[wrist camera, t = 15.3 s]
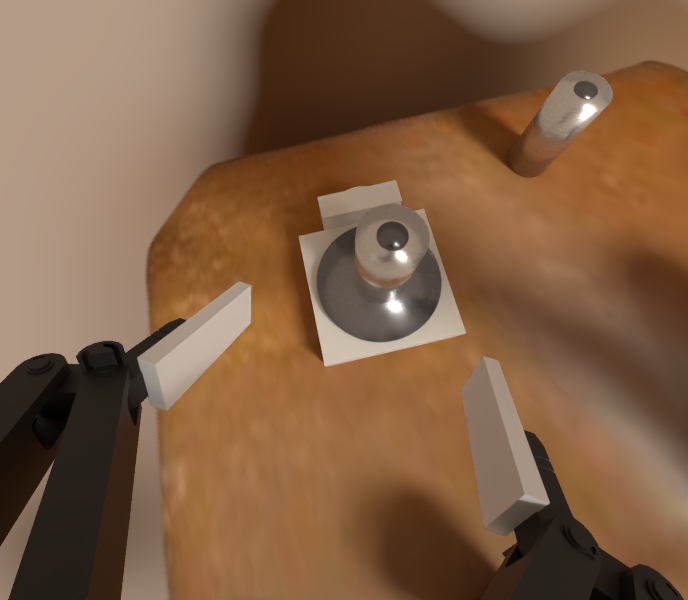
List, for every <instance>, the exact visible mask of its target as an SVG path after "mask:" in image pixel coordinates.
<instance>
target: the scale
mask: <svg viewBox="0 0 688 600" xmlns="http://www.w3.org/2000/svg"><path fill="white" fill-rule="evenodd" d="M317 198H318V203H319V208H320V213H321V218H322V223H323V227H324V231H319V232H315V233H310V234H306V235H301V236H299V241H300V246H301V251H302V256H303V261H304V266H305V270H306V275H307V280H308V285H309V290H310V295H311V300H312V305H313V310H314V315H315V320H316V325H317V330H318V335H319V340H320V345H321V350H322V355H323V360H324V364H325V366H332V365H336V364H341V363H345V362H349V361H353V360H358V359H362V358H366V357H371V356H375V355H379V354H384V353H388V352H392V351H396V350H401V349H405V348H409V347H414V346H418V345H422V344H427V343H431V342H435V341H439V340H444V339H448V338H452V337H456V336H459V335H462V334H465V333H466V331H465V328H464V325H463V322H462V319H461V317H460V314H459V311H458V308H457V305H456V302H455V299H454V296H453V293H452V290H451V287H450V284H449V281H448V278H447V275H446V272H445V269H444V266H443V264H442V261H441V258H440V255H439V252H438V249H437V246H436V243H435V240H434V237H433V234H432V231H431V228H430V225H429V222H428V219H427V216H426V213H425V211H424V209H420V210H415V212H417V213H418V214H419V215H420V216H421V217H422V218H423V220H424V221H425V223H426V225H427V227H428V230H429V236H430V242H429V249H430V250H431V251H432V253H433V255H434V256H435V258H436V260H437V263H438V265H439V269H440V273H441V280H442V285H441V295H440V299H439V302H438V305H437V307H436V309H435V311H434V313H433V314H432V316H431V317H430V319H429V320H428V321H427V322H426V323H425V324H424V325H423V326H422V327H421V328H420V329H418V330H417V331H415V332H414V333H412V334H410V335H409V336H406V337H404V338H402V339H399V340H396V341H391V342H382V343H376V342H368V341H363V340H360V339H357V338H355V337H352V336H350V335H348V334H347V333H345V332H344V331H342V330H341V329H339V328H338V327H337V326H336V325H335V324H334V323H333V322H332V321H331V319H330V318H329V317H328V316H327V314H326V312H325V311H324V309H323V307H322V304H321V302H320V299H319V296H318V291H317V271H318V267H319V263H320V261H321V258H322V256H323V254H324V253H325V251H326V249H327V248H328V247H329V245H330V244H331V243H332V242H333V241H334V240H335V239H336V238H337V237H339V236H340V235H341V234H343V233H344V232H346V231H348V230H350V229H352V228H355V227H357V226H358V223H359V222H360V220H361V218H362V217H363V216H364V215H365V214H366V213H367V212H368V211H370V210H371V209H373V208H375V207H377V206H380V205H384V204H399V205H401V204H402V198H401V195H400V192H399V189H398V186H397V182H396V180H394V181H389V182H385V183H380V184H375V185H371V186H358V187H353V188H350V189H348V190H346V191H343V192H338V193H334V194H329V195H324V196H320V197H317Z"/></svg>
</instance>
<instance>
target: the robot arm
mask: <svg viewBox="0 0 688 600" xmlns="http://www.w3.org/2000/svg"><path fill="white" fill-rule="evenodd" d="M250 323H251V285H249V284H246V283H242V282H237V283H236V284H235V285H233V286H232V287H231V288H229V289H228V290H227V291H225V292H224V293H223V294H221V295H220V296H219V297H217V298H216V299H215V300H213V301H212V302H211V303H209V304H208V305H207V306H205V307H204V308H203V309H201V310H200V311H199V312H197V313H196V314H195V315H193V316H192V317H191V318H189V319H188V320H184V319H181V318H180V319H177V320H174V321H172V322H169V323H167V324H166V325H164V326H163V327H162V328H160V329H159V331H156V332H155V333H153V334H152V335H151V336H149V337H147V338H146V339H145V340H143V341H142V342H140V343H139V344H138V345H136V346H135V347H133V348H132V349H130V350H129V351H128V352H126V353H125V351H124V348H123V345H121V344H120V343H119V342H114V341H103V342H98V343H94V344H92V345H89V346H87V347H85V348H84V349H82V350H81V351H80V352H79V353H78V355H77V356H76V358H77V360H78V362H79V364H68V363H67V361H66V359H65V357H64V356H62V355H60V354H54V353H50V354H42V355H39V356H35V357H33V358H30V359H28V360H26V361H24V362H23V363H21V364H20V365H18V366H17V367H16V368H15V369H14V370H13V371H12V372H11V373H10V374H9V375H8V376H7V377H6V378H5V379H4V380H3V381H2V382H1V383H0V546H1V544H2V543H3V541H4V540H5V538H6V536H7V535H8V533H9V531H10V530H11V528H12V527H13V525H14V523H15V522H16V520H17V519H18V517H19V515H20V514H21V512H22V511H23V509H24V507H25V506H26V504H27V503H28V501H29V499H30V498H31V496H32V495H33V493H34V491H35V490H36V488H37V487H38V485H39V483H40V481H41V480H42V478H43V477H44V475H45V474H46V472H47V470H48V469H49V467H50V466H51V464H52V462H53V461H54V463H53V466H52V469H51V472H50V475H49V478H48V481H47V484H46V487H45V490H44V493H43V496H42V500H41V503H40V505H39V509H38V511H37V515H36V517H35V521H34V524H33V527H32V530H31V533H30V536H29V539H28V542H27V545H26V548H25V551H24V554H23V557H22V560H21V563H20V566H19V569H18V572H17V575H16V578H15V581H14V584H13V587H12V590H11V593H10V596H9V599H8V600H121V591H122V582H123V573H124V564H125V554H126V545H127V537H128V527H129V519H130V510H131V501H132V492H133V483H134V473H135V464H136V454H137V446H138V437H139V428H140V419H141V410H142V407H141V402H142V401H143V400H144V399H146V398H147V397H148V398H149V401H150V405H151V406H154V407H157V408H160V409H162V410H165V411H167V410H168V409H169V408H170V407H171V406H172V405H173V404H174V403H175V402H176V401H177V400H178V399H179V398H180V397H181V396H182V395H183V394H184V393H185V392H186V390H187V389H188V388H189V387H190V386H191V385H192V384H193V383H194V382H195V381H196V380H197V379H198V378H199V377H200V376H201V375H202V374H203V373H204V372H205V371H206V369H207V368H208V367H209V366H210V365H211V364H212V363H213V362H214V361H215V360H216V359H217V358H218V357H219V356H220V355H221V354H222V353H223V352H224V351H225V350H226V348H227V347H228V346H229V345H230V344H231V343H232V342H233V341H234V340H235V339H236V338H237V337H238V336H239V335H240V334H241V333H242V332H243V331H244V330H245V329H246V327H247V326H248V325H249V324H250ZM461 393H462V399H463V405H464V411H465V417H466V423H467V429H468V435H469V441H470V447H471V453H472V459H473V465H474V471H475V477H476V482H477V488H478V494H479V500H480V506H481V512H482V518H483V524H484V529H487V530H489V531H492V532H495V533H498V534H500V535H503V536H507V535H508V534H509V533H511V532H512V531H513V530H514V531H515V535H516V539H517V543H516V544H514V545H513V546H512V547H510V548H509V549H507V550H506V551H505V552H503V553H502V554H503V555H504V556H506V558H505V559H504V561H503V563H502V564H501V566H500V567H499V569H498V571H497V572H496V574H495V575H494V577H493V579H492V580H491V582H490V583H489V585H488V587H487V588H486V590H485V591H484V593H483V595H482V596H481V598H480V600H684V599H683V598H682V596H681V594H680V593H679V592H678V591H677V590H676V589H675V588H674V586H673V585H672V584H671V583H670V582H669V581H668V580H667V579H666V578H664V577H663V576H662V575H661V574H660V573H659V572H657V571H655V570H654V569H652V568H650V567H649V566H646V565H641V564H638V565H636V566H634V567H631V568H629V567H628V566H626V565H625V564H623V563H622V562H620V561H619V560H617V559H616V558H614V557H613V556H611V555H609V554H608V553H606V552H605V551H603V550H602V549H601V548H599V546H598V544H597V542H596V541H595V539H594V537H593V536H592V534H591V533H590V532H589V531H588V530H587V529H586V528H585V526H584V525H583V524H581V523H580V522H579V521H577V520H576V519H575V518H574V517H573V515H572V513H571V511H570V509H569V506H568V504H567V501H566V499H565V496H564V494H563V492H562V489H561V487H560V484H559V482H558V479H557V477H556V475H555V473H554V470H553V467H552V465H551V462H549V458H548V455H547V453H546V450H545V448H544V446H543V445H542V443H541V442H540V441H539V439H538V438H537V437H536V435H535V434H534V433H531V432H528V431H525V430H523V427H522V425H521V422H520V419H519V416H518V414H517V411H516V408H515V405H514V403H513V400H512V397H511V394H510V392H509V389H508V386H507V383H506V381H505V378H504V375H503V372H502V370H501V367H500V364H499V361H498V360H495V359H492V358H489V357H485V356H483V357H482V359H481V360H480V362H479V363H478V365H477V366H476V368H475V370H474V371H473V373H472V374H471V376H470V377H469V379H468V381H467V382H466V384H465V385H464V387H463V389H462V390H461ZM54 459H55V460H54Z"/></svg>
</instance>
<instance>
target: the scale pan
mask: <svg viewBox="0 0 688 600" xmlns="http://www.w3.org/2000/svg"><path fill="white" fill-rule="evenodd" d="M356 229H357V227H355V228H352V229H350V230H348V231H346V232H344V233H343V234H341V235H340V236H339V237H337V238H336V239H335V240H334V241H333V242H332V243H331V244H330V245H329V247H328V248H327V249H326V251H325V253H324V254H323V256H322V258H321V261H320V263H319V267H318V271H317V291H318V296H319V299H320V302H321V304H322V307H323V309H324V311H325V312H326V314H327V316H328V317H329V318H330V319H331V321H332V322H333V323H334V324H335V325H336V326H337V327H338V328H339V329H341V330H342V331H344V332H345V333H347V334H348V335H350V336H352V337H355V338H357V339H360V340H363V341H368V342H376V343H382V342H391V341H396V340H399V339H402V338H404V337H406V336H409V335H410V334H412V333H414V332H415V331H417V330H418V329H420V328H421V327H422V326H423V325H424V324H425V323H426V322H427V321H428V320H429V319H430V317H431V316H432V314H433V313H434V311H435V309H436V307H437V305H438V302H439V299H440V295H441V285H442V280H441V273H440V269H439V265H438V263H437V260H436V258H435V256H434V255H433V253H432V251H431V250H430V249H429V247H428V250H427V252H426V254H425V255H424V257H423V259H422V260H421V262H420V263H419V265H418V266H417V268H416V270H415V271H414V273H413V274H412V276H411V277H410V279H409V280H408V282H407V284H406V285H405V287H404V288H403V290H402V291H401V293H400V294H399V295H398V297H396V298H395V299H394V300H392V301H390V302H388V303H383V304H377V303H372V302H369V301H367V300H366V299H364V298H363V297H362V296H361V295H360V294H359V293H358V291H357V289H356V287H355V283H354V271H355V236H356Z"/></svg>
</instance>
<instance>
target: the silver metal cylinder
mask: <svg viewBox="0 0 688 600" xmlns="http://www.w3.org/2000/svg"><path fill="white" fill-rule="evenodd" d="M429 242H430V236H429V230H428V227H427V225H426V223H425V221H424V220H423V218H422V217H421V216H420V215H419V214H418V213H417V212H415V211H414V210H412V209H410V208H408V207H406V206H403V205H399V204H384V205H380V206H377V207H375V208H373V209H371V210H370V211H368V212H367V213H366V214H365V215H364V216H363V217H362V218H361V220H360V222H359V223H358V226H357V229H356V236H355V271H354V283H355V287H356V289H357V291H358V293H359V294H360V295H361V296H362V297H363V298H364V299H366V300H367V301H369V302H372V303H377V304H383V303H388V302H390V301H392V300H394V299H395V298H396V297H398V295H399V294H400V293H401V291H402V290H403V288H404V287H405V285H406V284H407V282H408V280H409V279H410V277H411V276H412V274H413V273H414V271H415V270H416V268H417V266H418V265H419V263H420V262H421V260H422V259H423V257H424V255H425V254H426V252H427V250H428V247H429Z"/></svg>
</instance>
